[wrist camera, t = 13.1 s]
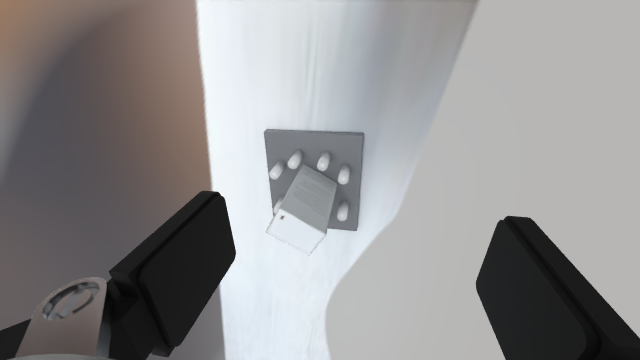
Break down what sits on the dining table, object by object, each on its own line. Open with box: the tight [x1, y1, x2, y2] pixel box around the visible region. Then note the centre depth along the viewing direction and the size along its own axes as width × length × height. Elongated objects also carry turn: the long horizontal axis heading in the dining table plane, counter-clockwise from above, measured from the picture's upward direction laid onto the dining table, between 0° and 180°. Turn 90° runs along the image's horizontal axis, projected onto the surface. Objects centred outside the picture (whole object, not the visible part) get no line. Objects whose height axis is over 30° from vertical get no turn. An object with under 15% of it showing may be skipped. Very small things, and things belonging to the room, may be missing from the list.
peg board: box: [264, 129, 363, 231], centre depth 39 cm, size 16×14×5 cm
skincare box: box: [266, 164, 337, 255], centre depth 35 cm, size 6×4×12 cm
